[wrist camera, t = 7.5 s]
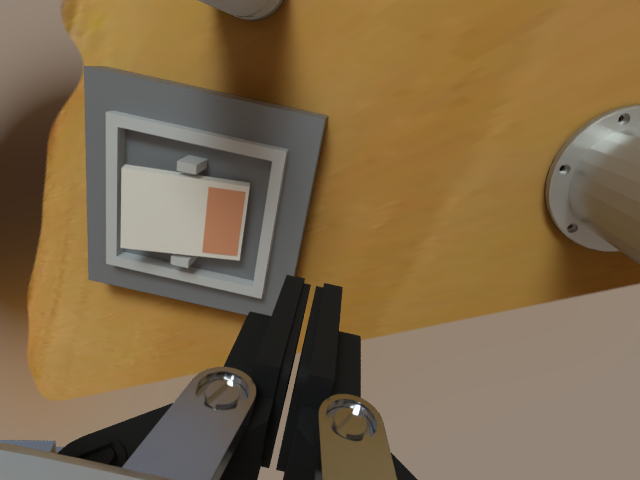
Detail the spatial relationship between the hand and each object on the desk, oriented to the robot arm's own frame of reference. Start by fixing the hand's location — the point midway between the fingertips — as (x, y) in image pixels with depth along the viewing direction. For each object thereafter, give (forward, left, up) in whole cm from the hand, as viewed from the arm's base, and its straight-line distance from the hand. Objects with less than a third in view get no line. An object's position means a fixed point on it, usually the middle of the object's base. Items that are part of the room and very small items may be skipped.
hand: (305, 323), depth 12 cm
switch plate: (+12, +7, -27) cm, 30 cm away
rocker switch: (+12, +7, -22) cm, 26 cm away
